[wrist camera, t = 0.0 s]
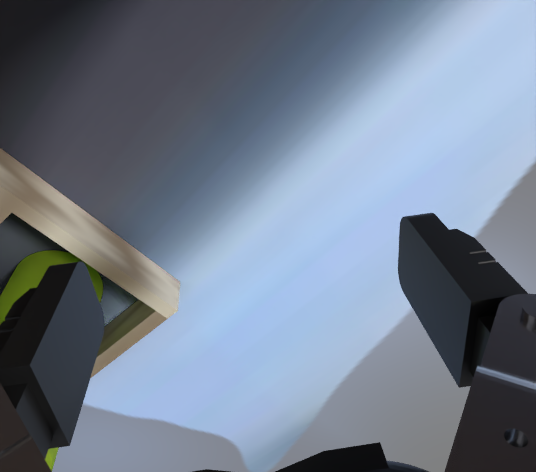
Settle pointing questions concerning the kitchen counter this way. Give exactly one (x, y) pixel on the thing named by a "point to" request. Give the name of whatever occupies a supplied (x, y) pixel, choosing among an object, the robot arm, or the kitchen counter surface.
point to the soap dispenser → (30, 277)
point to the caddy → (92, 255)
